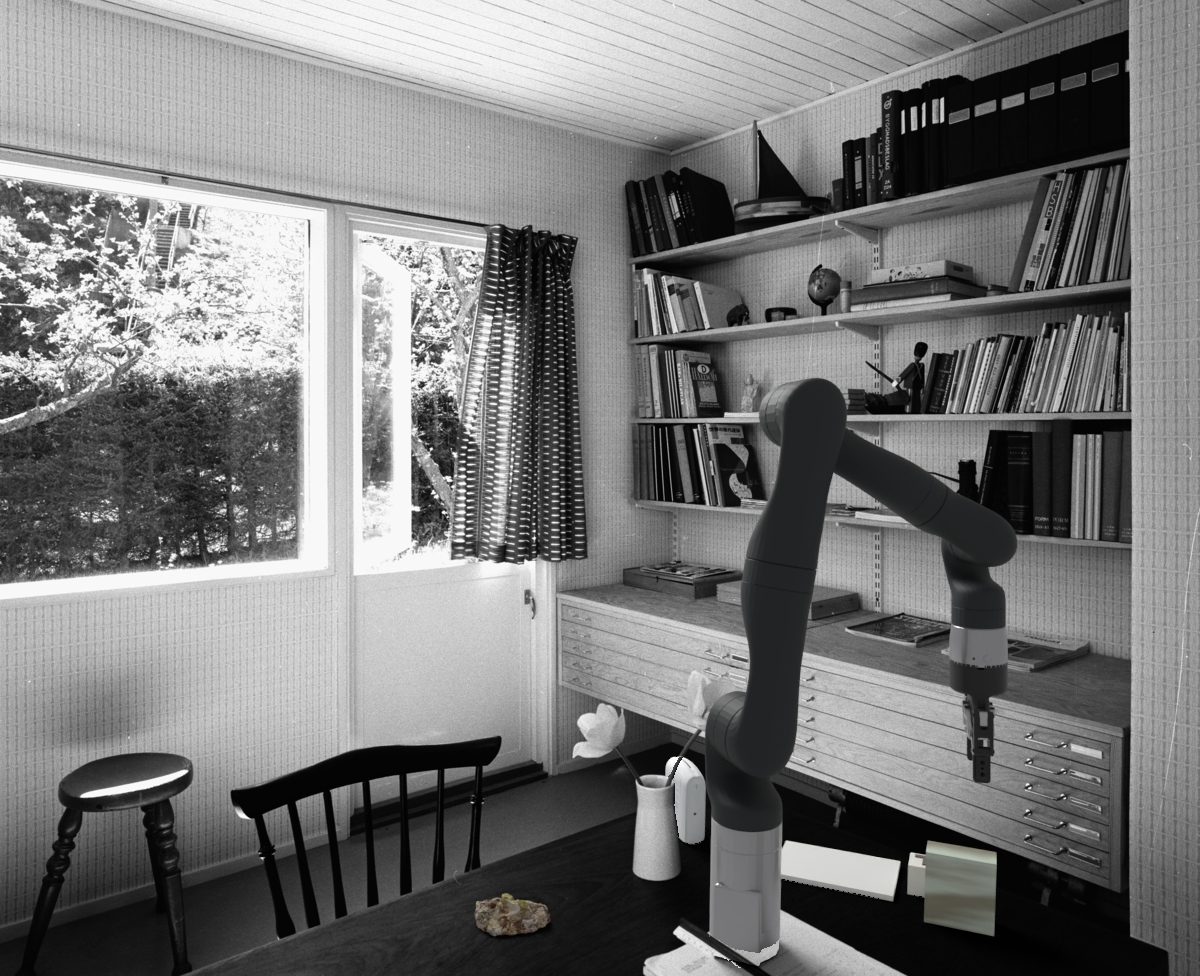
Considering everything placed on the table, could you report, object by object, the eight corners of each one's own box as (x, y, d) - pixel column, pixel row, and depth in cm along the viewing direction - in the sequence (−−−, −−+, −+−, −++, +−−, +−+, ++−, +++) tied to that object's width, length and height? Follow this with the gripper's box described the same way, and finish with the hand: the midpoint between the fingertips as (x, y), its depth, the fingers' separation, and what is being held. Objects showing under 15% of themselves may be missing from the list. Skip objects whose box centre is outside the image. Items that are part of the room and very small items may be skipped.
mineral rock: (466, 922, 121) (479, 878, 129) (467, 947, 123) (480, 903, 130) (545, 929, 120) (554, 885, 128) (545, 955, 122) (554, 910, 129)
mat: (892, 901, 132) (893, 896, 132) (770, 877, 139) (770, 872, 139) (900, 866, 143) (900, 861, 143) (786, 845, 150) (786, 840, 150)
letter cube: (939, 900, 132) (940, 869, 132) (907, 894, 134) (908, 863, 134) (941, 887, 137) (942, 856, 136) (909, 881, 138) (910, 851, 138)
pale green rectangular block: (994, 936, 123) (996, 864, 122) (923, 922, 126) (925, 852, 126) (993, 922, 127) (996, 852, 126) (925, 908, 130) (927, 840, 130)
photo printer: (708, 843, 151) (709, 770, 150) (684, 846, 149) (685, 772, 149) (684, 818, 160) (685, 749, 160) (661, 821, 159) (662, 751, 158)
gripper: (945, 644, 134) (946, 751, 135) (953, 668, 121) (953, 787, 121) (1000, 646, 132) (1000, 755, 133) (1014, 671, 118) (1014, 792, 119)
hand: (978, 770), depth 127 cm, fingers open, 8 cm apart
